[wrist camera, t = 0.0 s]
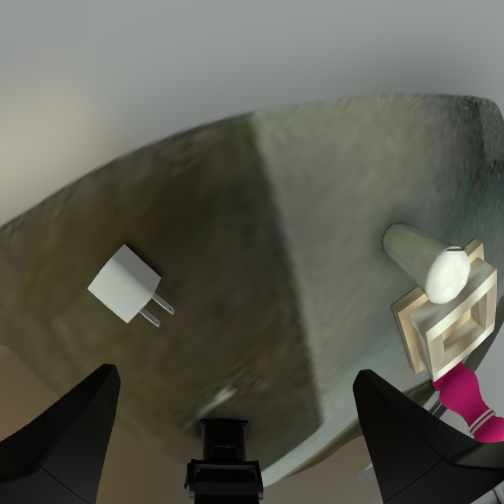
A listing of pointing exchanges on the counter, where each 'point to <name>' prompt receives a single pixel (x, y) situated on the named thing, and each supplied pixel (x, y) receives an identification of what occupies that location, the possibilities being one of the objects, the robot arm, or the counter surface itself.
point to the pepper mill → (469, 403)
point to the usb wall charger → (128, 286)
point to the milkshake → (428, 261)
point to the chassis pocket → (449, 319)
